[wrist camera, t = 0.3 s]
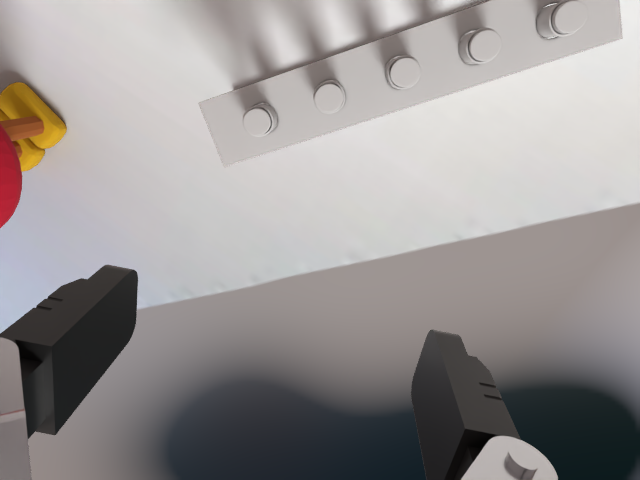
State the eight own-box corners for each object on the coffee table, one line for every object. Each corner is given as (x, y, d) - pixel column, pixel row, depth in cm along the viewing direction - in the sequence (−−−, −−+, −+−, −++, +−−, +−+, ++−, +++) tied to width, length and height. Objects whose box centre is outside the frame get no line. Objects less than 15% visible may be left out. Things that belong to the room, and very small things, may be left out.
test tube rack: (254, 142, 40) (214, 176, 27) (236, 92, 38) (184, 104, 26) (544, 47, 36) (649, 37, 24) (536, -12, 34) (642, -57, 22)
